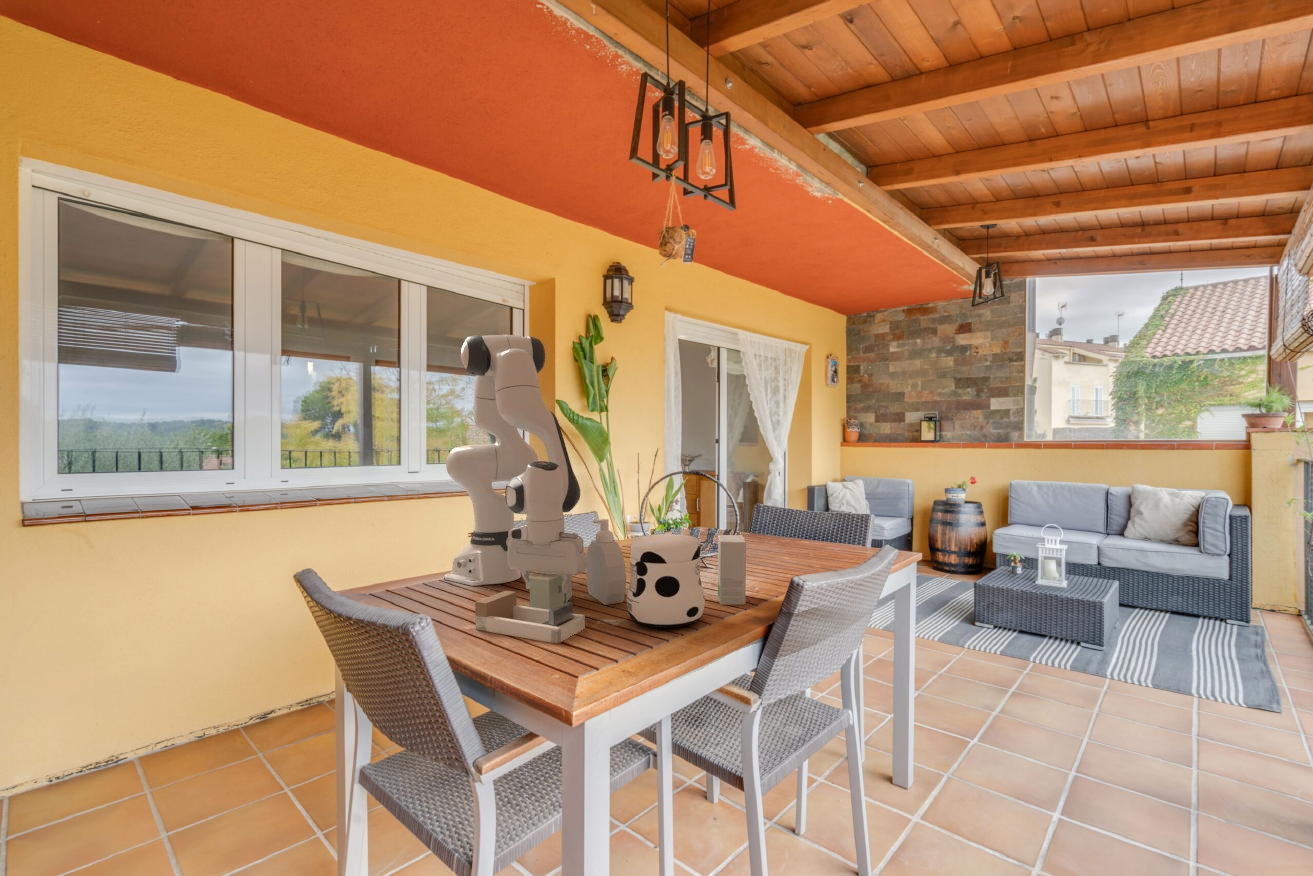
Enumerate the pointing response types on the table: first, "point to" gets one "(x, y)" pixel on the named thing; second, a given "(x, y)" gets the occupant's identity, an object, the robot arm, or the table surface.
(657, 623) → the milk container
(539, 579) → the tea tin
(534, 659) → the table surface
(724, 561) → the skincare box
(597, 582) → the soap bottle
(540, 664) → the table surface
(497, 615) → the frame
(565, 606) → the block
